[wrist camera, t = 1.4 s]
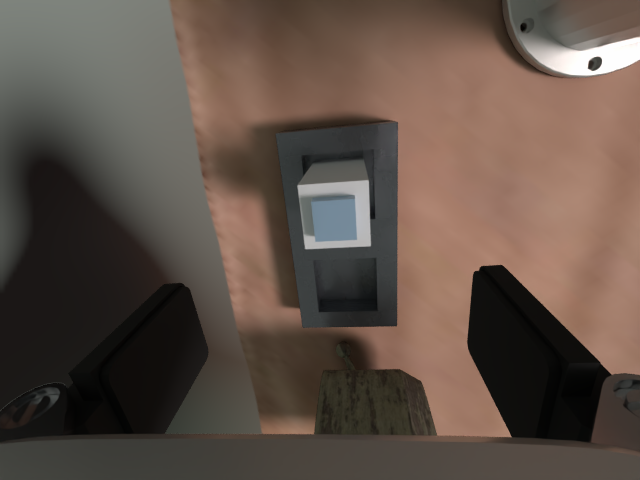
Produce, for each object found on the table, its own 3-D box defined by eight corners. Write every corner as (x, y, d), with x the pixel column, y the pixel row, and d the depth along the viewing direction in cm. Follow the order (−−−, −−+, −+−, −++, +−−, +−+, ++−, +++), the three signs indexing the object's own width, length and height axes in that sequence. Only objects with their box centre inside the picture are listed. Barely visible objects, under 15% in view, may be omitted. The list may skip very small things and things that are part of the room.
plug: (314, 160, 26) (295, 188, 17) (363, 156, 25) (369, 183, 16) (319, 206, 27) (303, 255, 18) (364, 203, 27) (371, 251, 18)
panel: (283, 130, 26) (275, 133, 23) (392, 120, 25) (397, 122, 22) (306, 309, 33) (302, 327, 30) (392, 307, 32) (397, 326, 29)
